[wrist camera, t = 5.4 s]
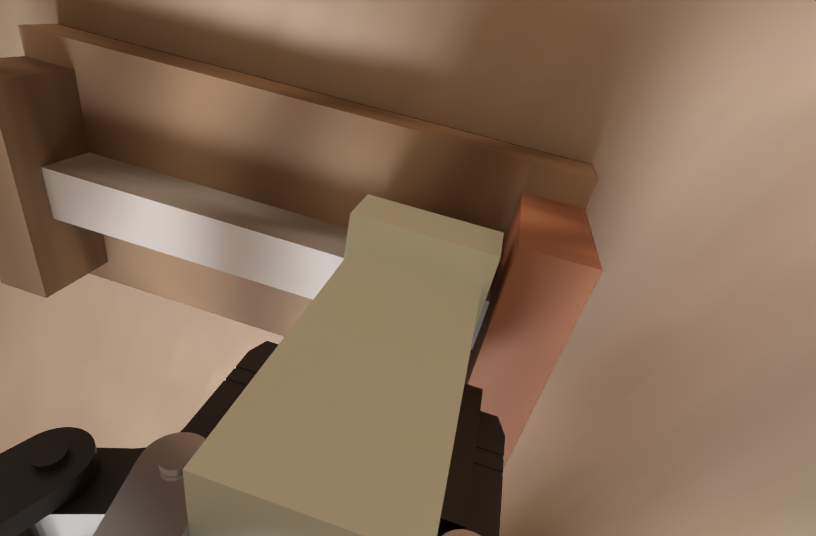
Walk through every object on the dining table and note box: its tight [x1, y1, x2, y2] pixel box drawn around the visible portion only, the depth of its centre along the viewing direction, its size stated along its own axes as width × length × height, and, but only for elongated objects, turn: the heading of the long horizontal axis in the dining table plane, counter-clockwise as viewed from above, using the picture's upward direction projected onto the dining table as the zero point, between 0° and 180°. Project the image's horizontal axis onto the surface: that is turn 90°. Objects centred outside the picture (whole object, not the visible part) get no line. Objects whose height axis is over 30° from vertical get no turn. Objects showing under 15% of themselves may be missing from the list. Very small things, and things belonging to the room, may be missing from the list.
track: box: [0, 24, 602, 468], centre depth 16 cm, size 20×10×6 cm, turn 79°
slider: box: [183, 194, 504, 536], centre depth 12 cm, size 4×7×10 cm, turn 169°
